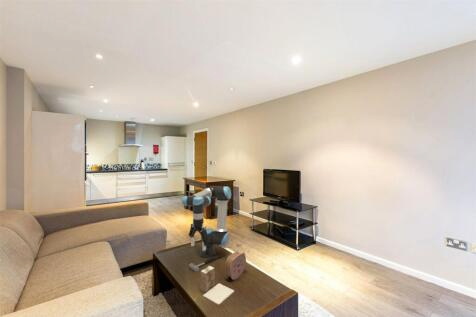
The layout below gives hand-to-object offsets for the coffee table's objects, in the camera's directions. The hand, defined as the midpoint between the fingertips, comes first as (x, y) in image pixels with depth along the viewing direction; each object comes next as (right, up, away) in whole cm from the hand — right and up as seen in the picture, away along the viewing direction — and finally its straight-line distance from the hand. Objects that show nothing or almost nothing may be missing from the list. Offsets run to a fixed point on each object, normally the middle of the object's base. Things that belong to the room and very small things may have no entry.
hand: (198, 248), depth 151 cm
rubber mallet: (+2, -26, +29) cm, 39 cm away
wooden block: (+8, -26, -5) cm, 28 cm away
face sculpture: (+27, -26, +10) cm, 39 cm away
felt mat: (+16, -26, -11) cm, 33 cm away
